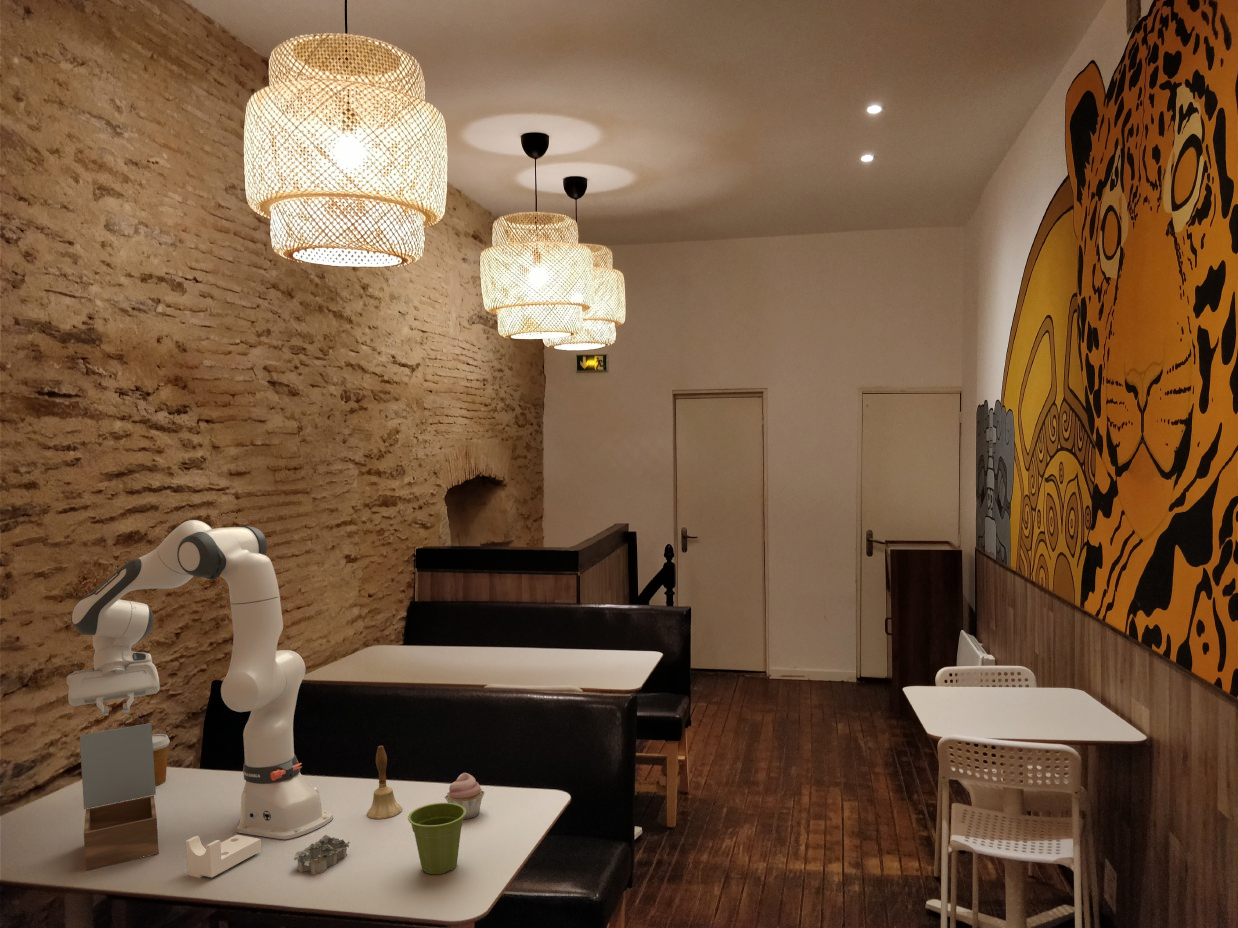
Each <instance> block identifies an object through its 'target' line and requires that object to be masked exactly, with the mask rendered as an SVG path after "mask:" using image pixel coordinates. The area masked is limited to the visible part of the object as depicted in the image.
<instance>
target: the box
mask: <svg viewBox="0 0 1238 928" xmlns="http://www.w3.org/2000/svg"><path fill="white" fill-rule="evenodd" d="M155 800H156V799H155V795H151V796H146V797H141V798H137V799H132V800H127V801H122V802H117V803H112V804H107V805H102V806H97V807H92V808H87V809H85V814H84V815H85V816H84V829H83V843H84V844H83V845H84V860H85V861H84V862H85V871H91V870H95V869H98V868H99V869H100V868H103V867H107V866H112V865H116V863H117V864H120V862H121V863H125V862H129V861H128V860H130V861H133V860H132V859H134V860H137V858H138V859H141V858H140V857H143V856H147V857H149V856H148V855H151V856H154V854H155V855H159V854H160V850H159V849H160V847H159V835H158V834H159V833H158V832H159V831H158V818H157V817H158V816H157V810H156V809H157V808H156V801H155ZM158 853H159V854H158ZM143 858H144V857H143ZM124 861H125V862H124Z"/></svg>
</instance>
